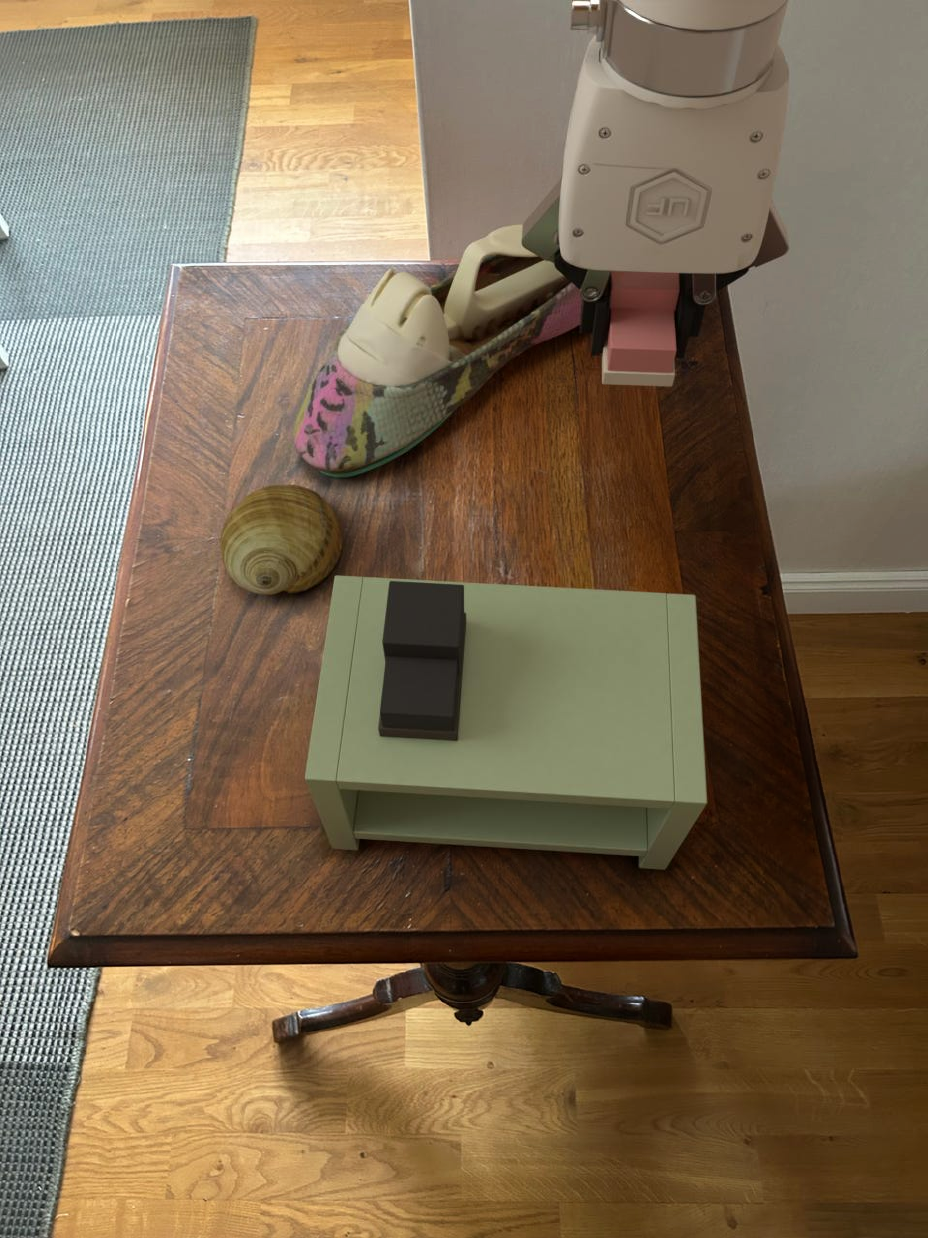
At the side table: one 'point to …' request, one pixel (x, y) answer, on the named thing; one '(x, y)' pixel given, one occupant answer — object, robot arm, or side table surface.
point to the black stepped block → (423, 661)
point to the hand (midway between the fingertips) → (636, 337)
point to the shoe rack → (521, 726)
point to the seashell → (280, 540)
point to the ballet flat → (428, 352)
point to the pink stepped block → (641, 329)
